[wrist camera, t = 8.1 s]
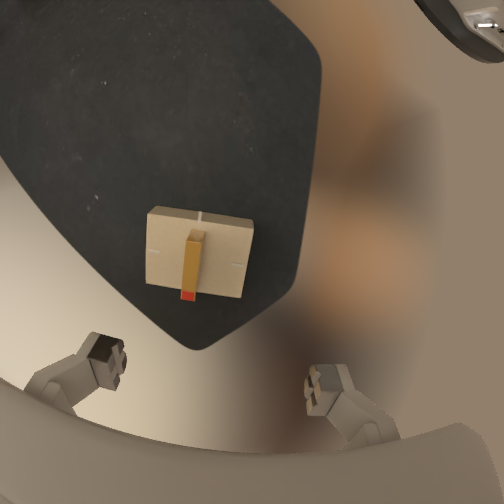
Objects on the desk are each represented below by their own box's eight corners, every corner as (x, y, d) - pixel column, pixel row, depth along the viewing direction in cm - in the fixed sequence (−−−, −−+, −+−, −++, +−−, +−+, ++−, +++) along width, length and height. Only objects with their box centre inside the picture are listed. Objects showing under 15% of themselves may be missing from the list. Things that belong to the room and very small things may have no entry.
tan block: (254, 211, 33) (256, 220, 29) (239, 290, 37) (239, 306, 34) (157, 196, 32) (147, 204, 28) (153, 277, 36) (145, 291, 33)
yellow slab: (191, 228, 30) (185, 241, 26) (206, 230, 30) (201, 243, 26) (185, 283, 32) (180, 300, 29) (198, 285, 33) (194, 302, 29)
